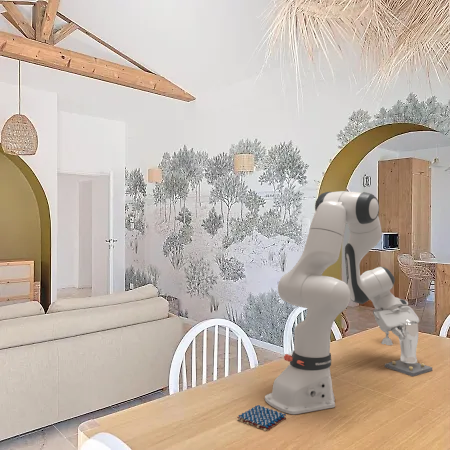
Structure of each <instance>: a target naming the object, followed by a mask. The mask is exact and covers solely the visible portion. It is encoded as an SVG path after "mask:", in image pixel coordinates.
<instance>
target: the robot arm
mask: <svg viewBox="0 0 450 450" xmlns="http://www.w3.org/2000/svg"><path fill="white" fill-rule="evenodd" d="M314 210H315V213H314V214H313V217H312V220H311V223H310V227H309V230H308V234H307V238H306V242H305V244H304V248H303V251H302V254H301V255H300V257H299V259H298V260H297V263H296V264H295V265H294V266H293V267H292V269H290V270H289V271H288V272H286V273H285V274H284V275H282V276H281V277H280V279H279V281H278V284H277V293H278V296H279V298H280V299H281V300H282V301H284V302H286V303H288V304H289V305H291V306H295V307H299V308H304V309H306V311H307V312H306V317H305V319H304V320H301V321H300V322H299V323H298V324H297V325H296V326H295V328H294V343H293V344H294V347H293V349H294V350H293V352H292V354H291V355H290V354H287V353H284V356H283V360H284V361H287V362H289V365H288V366H287V367H286V368H285V369H284V370H283V371H282V372H281V373H280V374H279V375H277V377H276V378H275V379H274V381H273V386H272V391H271V392H270V393H268V394H265V396H264V401H265V402H266V403H267V404H268V405H269V406H271V407H272V408H275V409H276V410H277V411H279V412H282V413H284V414H289V415H299V414H304V413H305V414H306V413H309V412H316V411H320V410H321V411H323V410H326V409H331V408H335V407H336V402H335V400H336V398H335V394H334V390H333V382H332V376H331V373H332V372H331V366H332V354H331V352H330V351H331V332H332V329H333V328H332V327H333V325H334V322H335V320H336V318H337V317H338V316H339V315H340V314H341V313H343V312H344V311H346V309H347V308H348V306H349V304H350V302H351V301H352V302H353V303H356V304H358V305H359V304H360V305H364V304H365V303H367V302H369V301H371V302H372V305H373V307H374V309H373V311H372V315H373V316H374V319H375V322H376V323H377V325H378V327H379V329H380V330H381V332H384V333H385V332H391V333H392V334H394V335H395V336H397V338H398V340H399V339H400V340H403V339H405V338H406V337H405V336H404V334H403V333H401V332H400V331H399V326H400V323H399V322H401V323H404V324H409V323H408V322H407V321H405V320H412V321H416V322H418V324H419V323H420V317H418V315H417V313H416V312H415V310H414V309H413V308H412V307H411V306H410V305H409V302H408V301H407V300H405V299H401V298H399V297H397V296H396V297H395V295H394V294H393V293H392V292H391V290H392V289H393V287H394V285H395V281H396V279H395V276H394V274H392V272H391V270H390V269H388V268H386V267H384V266H377V267H375V268H374V269H371V270H366V271H364V272H363V273H361V271H360V269H361V267H360V265H361V264H360V263H361V261H362V259H363V258H364V257H365V256H366V255H367V254H368V253H369V252H370V251H371V250H372V249H374V248H375V247H376V246H377V244H379V242H380V240H381V238H382V233H383V232H382V225H381V221H380V217H379V214H380V213H379V212H380V203H379V200H378V198H377V197H376V196H375V195H374V194H373V193H369V192H365V191H364V192H360V191H359V192H358V191H349V190H345V191H343V190H340V191H325V192H323V193H321V194H320V195H319V196H318V197H317V198H316V200H315V203H314ZM346 224H347V226H348V230H349V237H348V241H347V244H346V245H345V247H344V259H345V272H346V274H345V275H346V282H345V281H343V280H341V279H338V278H336V277H333V276H327V275H323V273H324V272H325V271H326V270H327V269H328V268H329V267H330V266H333V265H335V264H336V263H337V262H338V260H339V258H340V253H341V249H342V245H343V241H344V235H345V230H346Z"/></svg>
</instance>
